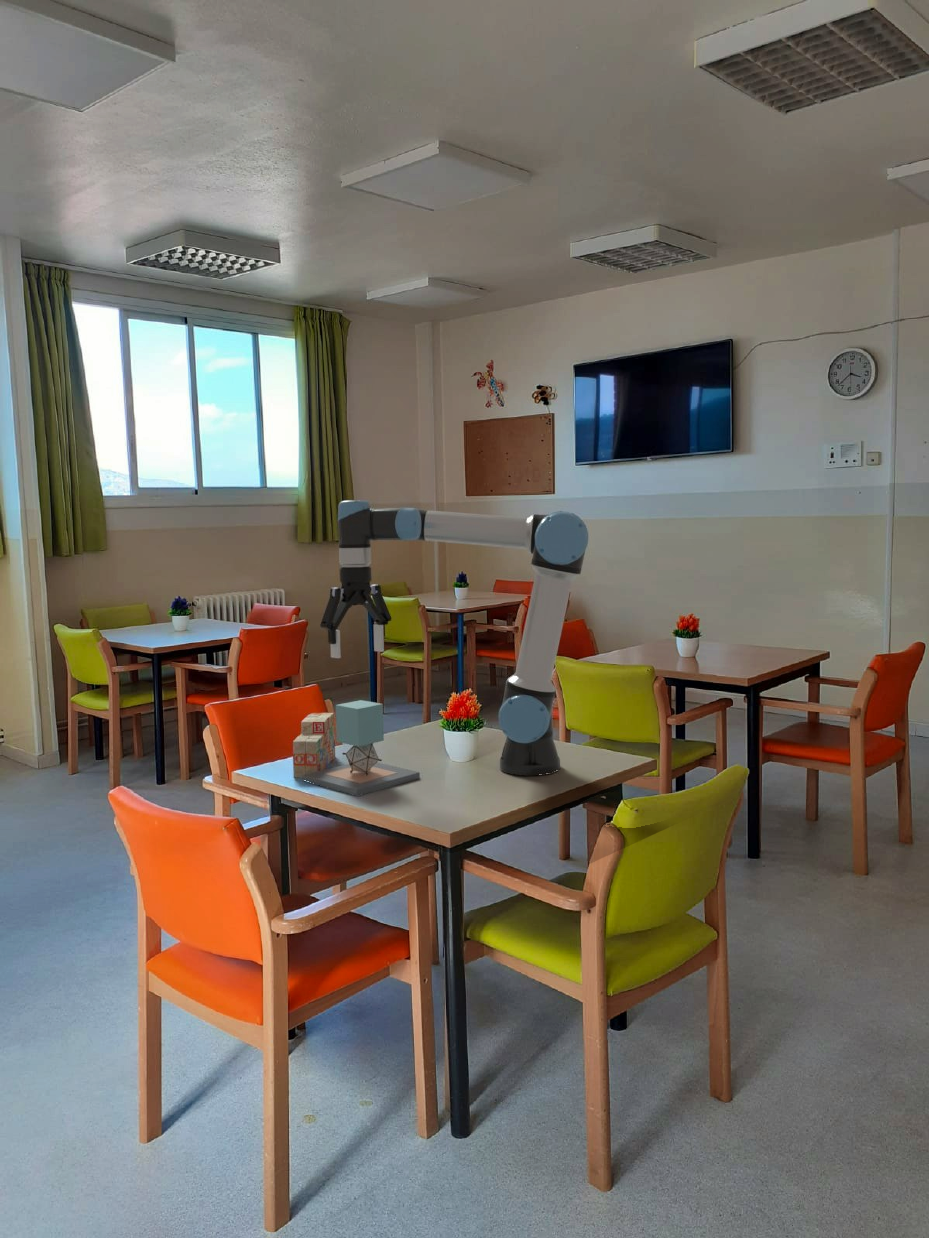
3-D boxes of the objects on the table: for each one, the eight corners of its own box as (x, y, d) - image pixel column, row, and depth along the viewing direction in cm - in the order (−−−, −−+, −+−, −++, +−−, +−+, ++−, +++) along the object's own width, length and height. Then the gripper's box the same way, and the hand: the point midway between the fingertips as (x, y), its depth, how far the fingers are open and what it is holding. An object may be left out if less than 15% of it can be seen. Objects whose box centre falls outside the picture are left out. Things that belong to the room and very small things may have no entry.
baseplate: (419, 778, 234) (419, 771, 234) (356, 796, 219) (356, 789, 219) (365, 765, 247) (365, 759, 247) (303, 781, 233) (302, 774, 233)
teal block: (383, 740, 233) (382, 703, 232) (358, 746, 227) (357, 708, 226) (362, 735, 238) (361, 700, 237) (336, 741, 232) (335, 704, 231)
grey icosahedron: (357, 786, 235) (347, 749, 240) (389, 774, 235) (378, 737, 239) (344, 777, 227) (334, 739, 232) (378, 764, 227) (367, 726, 231)
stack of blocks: (318, 778, 236) (316, 729, 235) (293, 778, 236) (291, 729, 235) (335, 757, 257) (334, 711, 256) (312, 757, 258) (311, 711, 256)
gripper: (383, 563, 240) (385, 647, 242) (303, 568, 222) (306, 659, 224) (404, 563, 235) (406, 649, 237) (323, 568, 217) (326, 661, 219)
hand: (357, 654), depth 230 cm, fingers open, 13 cm apart
